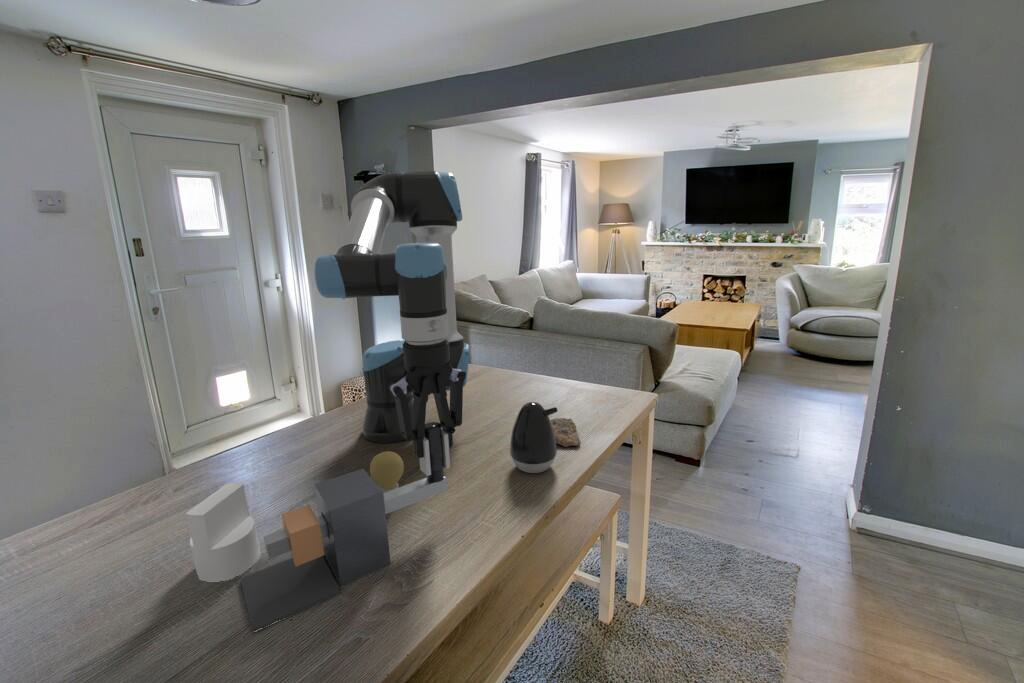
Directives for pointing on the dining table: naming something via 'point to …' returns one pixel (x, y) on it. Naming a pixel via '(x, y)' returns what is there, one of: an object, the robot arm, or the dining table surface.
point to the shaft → (392, 499)
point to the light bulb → (387, 470)
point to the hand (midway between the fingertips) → (435, 468)
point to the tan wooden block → (303, 534)
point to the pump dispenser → (533, 439)
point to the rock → (565, 432)
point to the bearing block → (353, 525)
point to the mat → (286, 590)
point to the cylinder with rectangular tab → (223, 534)
